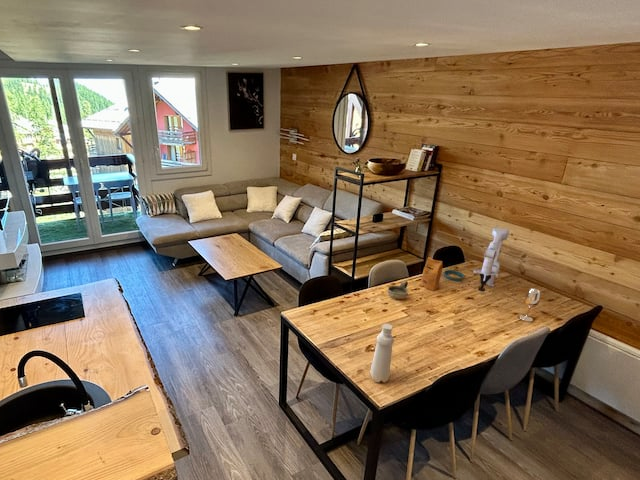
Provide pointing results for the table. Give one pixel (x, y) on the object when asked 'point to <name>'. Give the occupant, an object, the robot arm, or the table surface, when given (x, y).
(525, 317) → the wineglass
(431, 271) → the coffee package
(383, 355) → the bottle
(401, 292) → the bowl
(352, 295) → the table surface
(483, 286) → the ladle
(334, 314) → the table surface
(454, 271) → the teal ring
